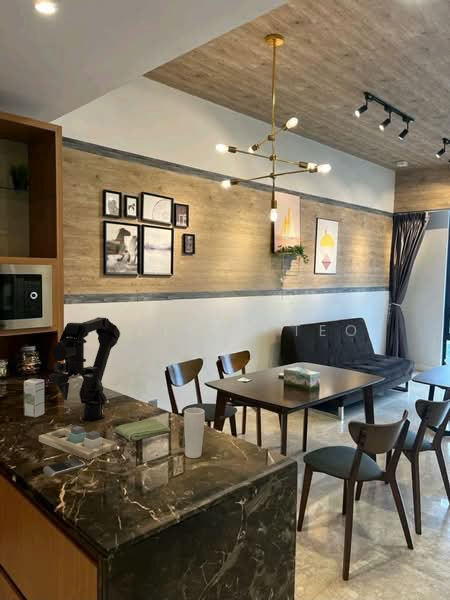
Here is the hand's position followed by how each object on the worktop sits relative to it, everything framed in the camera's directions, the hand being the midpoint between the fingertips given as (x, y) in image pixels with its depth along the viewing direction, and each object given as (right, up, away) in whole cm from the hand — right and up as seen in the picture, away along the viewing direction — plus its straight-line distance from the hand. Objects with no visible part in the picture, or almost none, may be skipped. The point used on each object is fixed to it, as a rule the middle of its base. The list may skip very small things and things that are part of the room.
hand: (75, 397), depth 169 cm
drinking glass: (+46, -15, -22) cm, 53 cm away
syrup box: (-22, -11, +15) cm, 29 cm away
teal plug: (+6, -13, -15) cm, 21 cm away
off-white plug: (+12, -14, -20) cm, 27 cm away
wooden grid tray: (+6, -13, -15) cm, 21 cm away
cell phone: (+8, -15, -34) cm, 38 cm away
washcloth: (+25, -13, -1) cm, 29 cm away
